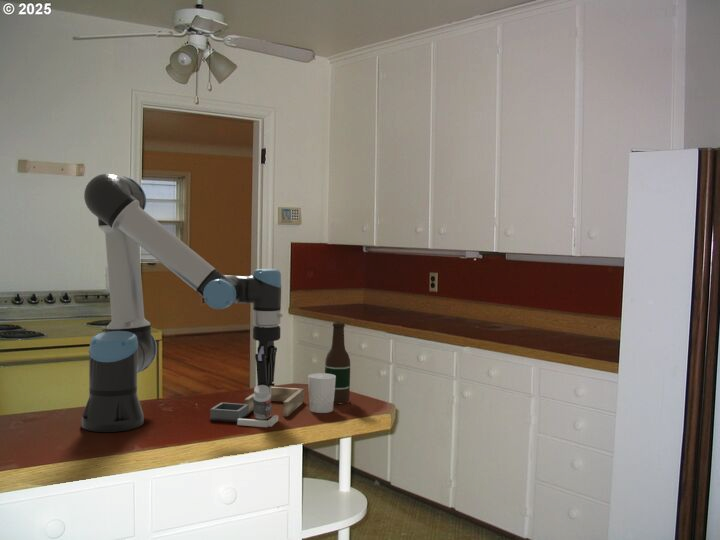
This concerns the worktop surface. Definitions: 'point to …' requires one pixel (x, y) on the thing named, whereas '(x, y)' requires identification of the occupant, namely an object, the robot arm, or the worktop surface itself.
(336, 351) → the beer bottle
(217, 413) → the bin
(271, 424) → the white l-shaped block
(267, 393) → the pill bottle
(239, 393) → the worktop surface
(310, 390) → the white cup
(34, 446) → the worktop surface
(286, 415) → the cubby
